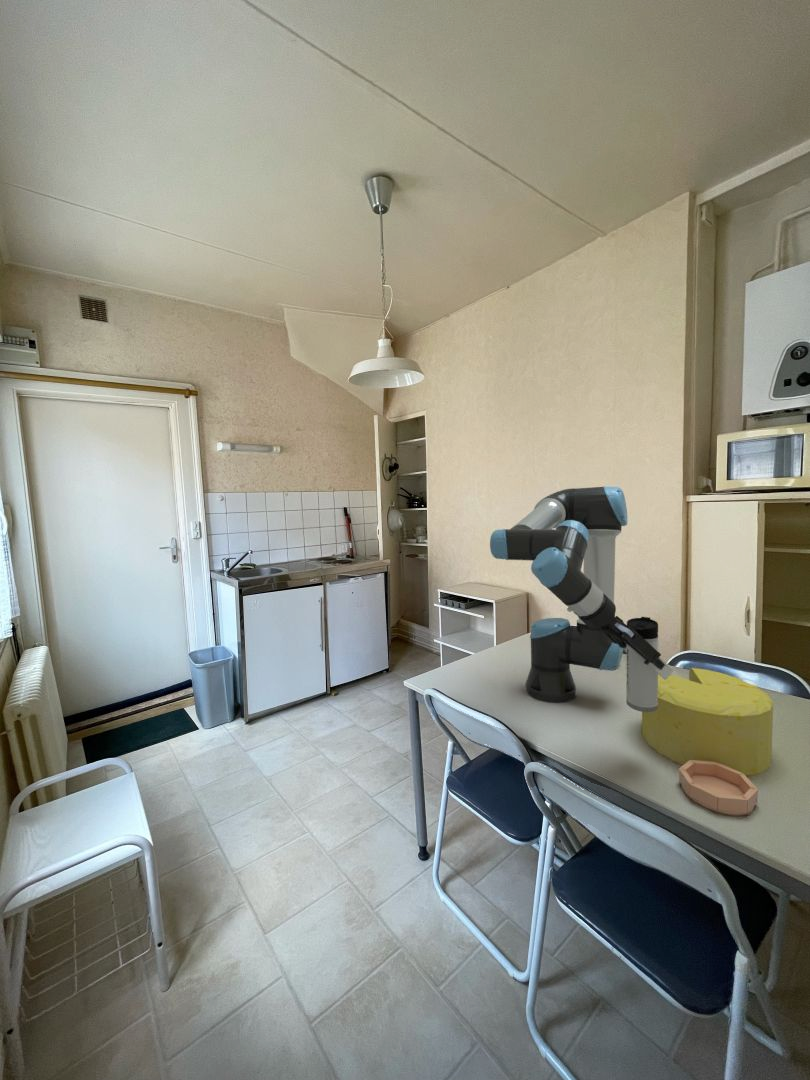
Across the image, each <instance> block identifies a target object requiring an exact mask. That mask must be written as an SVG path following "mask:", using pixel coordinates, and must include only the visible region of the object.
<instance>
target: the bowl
mask: <svg viewBox="0 0 810 1080" xmlns="http://www.w3.org/2000/svg"><path fill="white" fill-rule="evenodd" d="M678 781H679V782H680V784H681V788H682V790H683V793H685V795H686V796H687V797H688V798H690V800H691V801H693V802H695V803H696V804H697V805H699V806H701V807H703V808H705V809H707V810H710V811H712V812H715V813H717V814H723V815H726V816H727V815H728V816H732V817H733V816H736V817H738V816H739V817H741V816H747V815H749V814H751V813H752V812H753V811H754V810H755V807H756V806H755V805H757V803H758V798H759V797H758V796H759V794H758V793H759V789H758V788H757V786H756V785H754V783H753V782H752V781H751V780H750V779H749V778H748V777H747V776H745V775H744V774H743V773H741V772H739V771H736V770H734V769H732V768H729V767H727V766H724V765H722V764H720V763H717V762H710V761H697V760H689V761H688V762H687V763H685V764H684V765H683V764H682V765H681V766H680V767H679V768H678Z"/></svg>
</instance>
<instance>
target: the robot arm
mask: <svg viewBox="0 0 810 1080" xmlns="http://www.w3.org/2000/svg"><path fill="white" fill-rule="evenodd" d="M627 508H628V507H627V501H626V498H625V493H624V491H623V489H622V488H621V487H619V486H597V487H596V486H595V487H593V486H592V487H578V488H577V487H576V488H574V487H573V488H566V489H562V490H558V491H556V492H554V493H551V494H549V495H547V496H545V497H543V498H542V499H540V500H539V501H538V502H537V503H536V504H535V506H534V508H533V510H532V511H530V513H528V514H527V515H526V516H525V517H523V518H522V519H521V520H520V521H518V522H517V523H516V524H515V525H513V526H512V527H511V528H510V529H509V528H507V529H506V528H503V529H502V528H501V529H495V530H493V532H492V533H491V535H490V539H489V546H490V547H489V548H490V553H491V555H492V557H493V558H494V559H496V560H505V561H530V562H531V561H532V563H531V566H530V569H531V573H532V575H534V576H535V577H536V578H537V579H538V580H539V582H540V584H541V585H542V586H543V587H546V588H547V589H548V590H549V591H550V592H551V593H552V594H553V595H554V596H555V597H557V599H559V601H561V602H562V603H563V604H564V605H565V606H567V608H566V610H567V612H569V613H570V612H573V614H575V615H576V616H577V617H578V619H577V620H576V625H571V622H570V621H569V619H567V618H563V617H548V618H542V619H538V620H536V621H534V622H533V623H532V624H531V625H530V635H529V638H530V664H531V666H530V669H529V672H528V675H527V678H526V681H525V691H526V693H527V694H528V695H529V696H531V697H532V698H534V699H536V700H537V699H538V700H539V701H540V700H541V701H543V702H548V703H549V702H550V703H564V702H565V703H566V702H569V701H571V700H573V699H574V698H576V697H577V696H576V695H577V688H576V684H575V681H574V680H575V679H573V678H574V677H573V675H572V672H571V667H570V665H572V666H578V667H579V666H580V667H586V668H592V669H598V670H599V671H602V670H603V671H611V672H612V671H616V670H618V668H619V667H620V664H621V662H622V657H623V652H625V653H627V645H628V646H630V647H631V648H632V649H633V650H634V651H636V652H637V653H638V654H639V655H640V656H642V657H643V658H644V659H645V660H644V663H645V664H646V665H649V666H651V667H652V668H653V669H654V670H655V671H656V672H657V673H658V674H659V675H660V676H661V677H662V678H663V679H665V680H666V679H667V678H668V677H669V676H670V675H672V673H673V672H674V669H672V668H671V666H669V664H667V663H666V662H665V661H664V660H663V659H662V657H661V656H662V654H661V653H660V652H659V650H658V651H657V650H656V649H655V648H653V647H652V646H651V645H650V644H649V643H648V642H647V641H646V640H645V639H644V638H643V637H642V636H640V635H639V634H638V633H637V632H636V630H635V629H634V628H633V627H632V626H630V625H629V626H627V623H625V622H624V621H623V619H622V618H620V616H618V615H616V610H617V607H616V604H615V579H616V578H615V577H616V576H615V575H616V573H615V572H616V571H615V570H616V568H615V567H616V539H617V537H618V536H619V535H621V534H622V527H625V526H627V525H628V522H629V521H628V509H627ZM582 566H583V569H582ZM582 570H583V571H582Z"/></svg>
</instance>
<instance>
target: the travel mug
mask: <svg viewBox="0 0 810 1080" xmlns="http://www.w3.org/2000/svg"><path fill="white" fill-rule="evenodd" d="M626 625H627V626H629V625H630V626H632V627H633V628H634V629H635V630H636V632H637V633H638V634H639V635H640V636H642V637H643V638H644V639H645V640H646V641H647V642H648V643H649V644H650V645H651V646H652V647H653V648H655V649H656V650H657V651H658V652H659V623H658V621H656V620H654V619H651V617H648V616H641V617H633V618H630V619H627V621H626ZM644 660H645V659H644V658H643V657H642V656H640V655H639V654H638V653H637V652H636V651H634V650H633V649H632V648H631V647H630V646H628V645H627V652H626V689H625V690H626V693H625V694H626V705H627V706H628V707H629V708H630V709H632V710H634V711H637V712H641V713H642V712H653V711H656V710H657V708H658V673H657V672H656V671H655V670H654V669H653V668H652V667H651V666H649V665H646V664H645V663H644Z"/></svg>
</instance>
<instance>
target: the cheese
mask: <svg viewBox="0 0 810 1080" xmlns="http://www.w3.org/2000/svg"><path fill="white" fill-rule="evenodd" d="M688 670H689V672H688V679H686V678H683V677H680V676H676V675H672V674H670V676H669V677H668V678H667V679H666V680H665V679H663V678H662V677H661V676H660V675H659V674H658V708H657V710H656V711H653V712H641V735H642V737H643V739H644V740H645V742H646V743H647V744H648V745H649V746H650V747H651V748H652V749H654V750H655V751H656V752H658V753H659V754H661V755H662V756H664V757H666V758H668V759H670V760H671V761H673V762H674V763H675V762H676V763H678V764H679V765H682V766H683V765H684V764H685V763H687V762H688V761H689V760H697V761H710V762H717V763H720V764H722V765H724V766H727V767H729V768H732V769H734V770H736V771H739V772H741V773H743V774H744V775H745V776H746V777H747V776H755V775H759V774H761V773H763V772H765V771H767V770H768V769H769V767H770V766H771V762H772V750H773V748H772V747H773V724H774V723H773V721H774V720H773V719H774V703H773V701H772V699H771V697H770V696H769V694H767V693H766V692H765V691H763V690H762V689H760V688H759V687H757V685H754V684H752V683H749V682H747V681H744V680H743V679H741V678H738V677H735V676H732V675H730V674H725V673H723V672H718V671H715V670H714V671H713V670H710V669H703V668H698V667H697V668H696V667H689V669H688Z"/></svg>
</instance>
